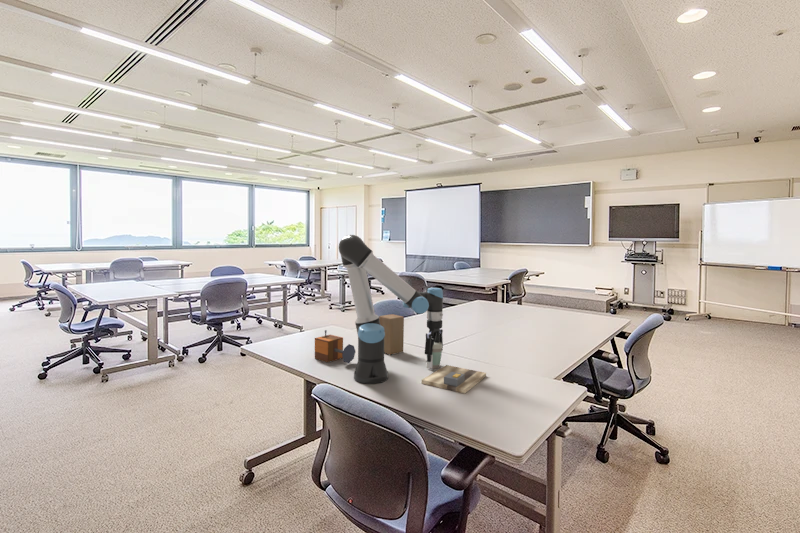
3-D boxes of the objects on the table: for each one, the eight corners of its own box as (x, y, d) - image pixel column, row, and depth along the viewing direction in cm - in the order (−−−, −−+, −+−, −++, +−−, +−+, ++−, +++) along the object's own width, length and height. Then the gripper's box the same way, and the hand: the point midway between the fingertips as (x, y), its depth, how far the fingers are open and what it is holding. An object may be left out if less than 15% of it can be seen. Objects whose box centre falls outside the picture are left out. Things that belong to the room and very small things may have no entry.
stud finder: (443, 383, 163) (443, 375, 163) (451, 378, 170) (451, 370, 170) (456, 386, 160) (457, 378, 160) (464, 381, 167) (464, 373, 166)
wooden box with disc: (341, 366, 189) (341, 337, 188) (314, 358, 201) (314, 331, 200) (356, 361, 197) (356, 334, 196) (330, 354, 209) (330, 328, 208)
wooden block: (391, 348, 223) (392, 313, 222) (403, 352, 216) (404, 316, 214) (378, 351, 216) (378, 315, 215) (390, 355, 209) (390, 318, 208)
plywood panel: (421, 383, 167) (421, 379, 167) (446, 368, 189) (446, 364, 189) (464, 393, 157) (464, 389, 157) (486, 376, 178) (486, 372, 178)
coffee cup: (445, 367, 190) (446, 343, 190) (435, 371, 184) (435, 346, 183) (432, 363, 196) (432, 339, 195) (421, 367, 190) (421, 342, 189)
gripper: (431, 324, 178) (430, 372, 179) (450, 317, 195) (449, 361, 197) (417, 322, 182) (416, 369, 183) (437, 315, 199) (436, 359, 201)
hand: (433, 365), depth 190 cm, fingers closed on coffee cup, 8 cm apart
